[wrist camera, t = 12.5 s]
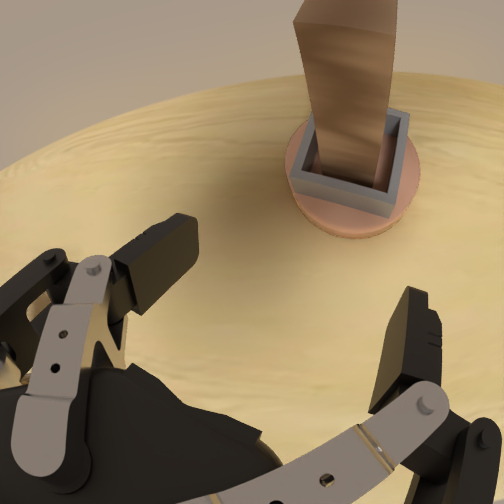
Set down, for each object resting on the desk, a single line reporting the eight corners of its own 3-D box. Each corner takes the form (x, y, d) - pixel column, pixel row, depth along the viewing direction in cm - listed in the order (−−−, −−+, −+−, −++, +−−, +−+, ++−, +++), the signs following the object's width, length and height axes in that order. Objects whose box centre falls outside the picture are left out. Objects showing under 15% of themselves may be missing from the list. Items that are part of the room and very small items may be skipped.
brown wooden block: (381, 144, 19) (397, -10, 7) (371, 191, 19) (395, 35, 7) (335, 133, 20) (316, -21, 8) (322, 179, 20) (292, 22, 8)
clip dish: (418, 145, 21) (432, 106, 16) (398, 255, 20) (416, 235, 15) (310, 118, 25) (301, 77, 20) (274, 218, 24) (257, 190, 18)
